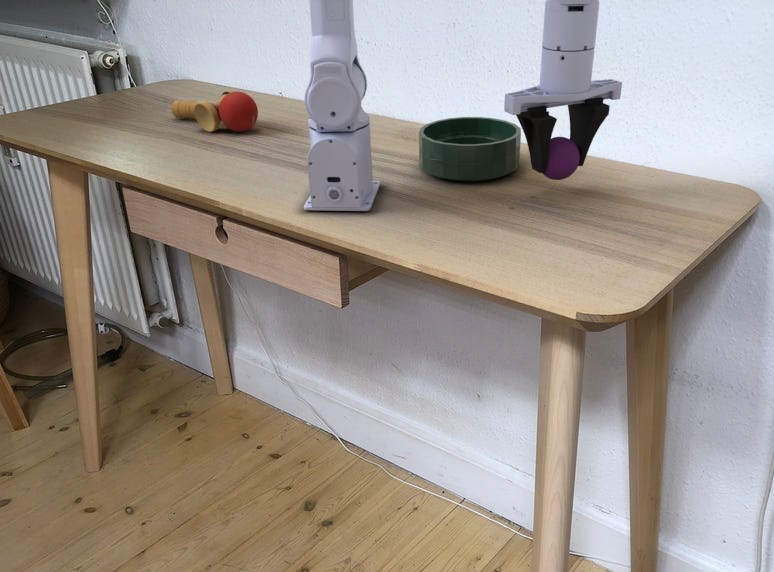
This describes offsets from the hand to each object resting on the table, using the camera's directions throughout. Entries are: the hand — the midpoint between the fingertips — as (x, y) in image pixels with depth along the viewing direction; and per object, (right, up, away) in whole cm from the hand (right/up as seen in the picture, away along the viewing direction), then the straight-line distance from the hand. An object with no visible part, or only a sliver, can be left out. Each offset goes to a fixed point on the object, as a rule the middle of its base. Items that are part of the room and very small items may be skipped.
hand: (557, 167), depth 91 cm
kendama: (-49, +15, +32) cm, 60 cm away
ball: (0, +1, -1) cm, 1 cm away
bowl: (-10, +3, +10) cm, 15 cm away
